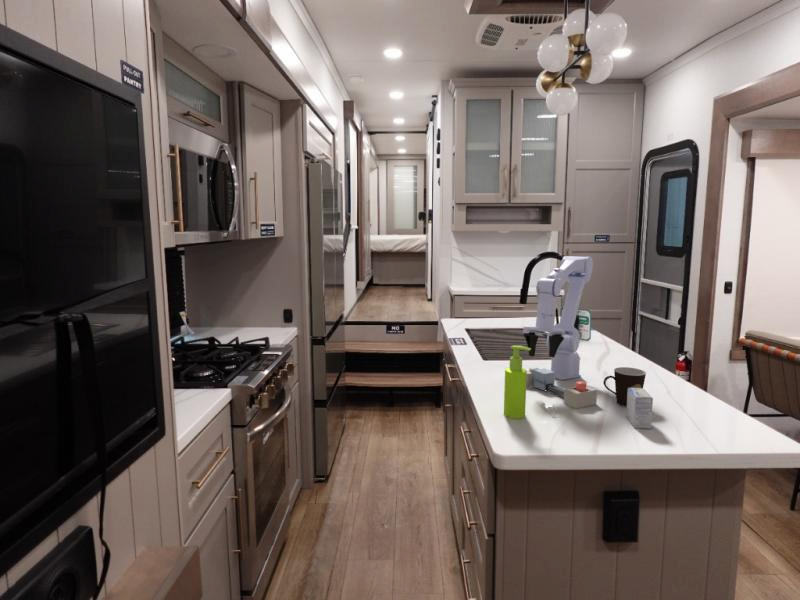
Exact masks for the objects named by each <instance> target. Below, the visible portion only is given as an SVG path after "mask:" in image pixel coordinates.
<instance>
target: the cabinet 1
mask: <svg viewBox="0 0 800 600" xmlns="http://www.w3.org/2000/svg"><path fill="white" fill-rule="evenodd" d="M537 369H540V368H539V367H537V366H536V367H535V366H533V367H532V366H530V367H529V370H526V371H527V373H526V388H530V387H529V386H531V387H534V386H533V383H534V370H537Z"/></svg>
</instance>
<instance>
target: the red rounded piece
mask: <svg viewBox="0 0 800 600" xmlns="http://www.w3.org/2000/svg"><path fill="white" fill-rule="evenodd" d="M586 386H587V382H585V381H581V380H578V381H576V382H575V387H576V388H575V390H576V391H579V392H585V391H586Z"/></svg>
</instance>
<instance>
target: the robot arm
mask: <svg viewBox="0 0 800 600" xmlns="http://www.w3.org/2000/svg"><path fill="white" fill-rule="evenodd" d="M593 269H594V261H593V258H592V256H589V255H587V256H576V255H575V256H573V255H571V256H570V255H564V256H563V257H562V259H561V262H560V266H559V267H558V268H557V267H555V268H554V269H553V270H552V271H551V272H550V273H549V274H547V276H546V277H541V278H540V279H538V280H537V283H536V286H535V287H536V288H535V291H536V299H537V309H536V310H537V311H536V320H535V327H534V326H523V328H522V333H523V337H524V339H525V341H526V346H527V347H528V348H531V350H529V351H528V356H530V357H535V354H536V348H537V347H536V346H537V344H538V343H537V342H538V339H539V337H540V336H539V335H547V338H546V346H547V348H548V350H549V351H548V357H549V358H551V362H550V363H551V364H550V371H553V372H555V379H557V380H559V381H564V380H569V379H574V378H580V377H582V376H581V374H580V361H581V358H580V355H579V353H578V352H577V351H578V349H579V346H580V337H581V335H580V332H579V330H578V329H577V328H576V327H575V323H576V319H577V315H578V310H579V307H580V303H581V298H582V294H583V291H584V288H585V284H587V283H589V282H590V280H591V278H592V273H593ZM566 283H569V285H568V291H567V294H566V298H565V301H564V306H563V308H562V312H561V315H560V316H561V317H560V320H559V323H557V324H555V321H556V309H557V301H558V300H557V299H558V297H560V295H561V291H562V288H563V286H564V285H565V284H566Z"/></svg>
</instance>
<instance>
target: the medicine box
mask: <svg viewBox="0 0 800 600" xmlns="http://www.w3.org/2000/svg"><path fill="white" fill-rule="evenodd" d="M653 399H654V398H653V396H651V395H650V393H648V391H647V390H646V389H645V388H643V389H642V388H628V392H627V407H626V413H625V415H626V418H627V420H628V421H629V423H630V424H631V425H632V427H633V428H634V429H645V430H646V429H649V430H650V429H652V425H653V424H652V423H653V421H652V420H653V403H654V400H653Z"/></svg>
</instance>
